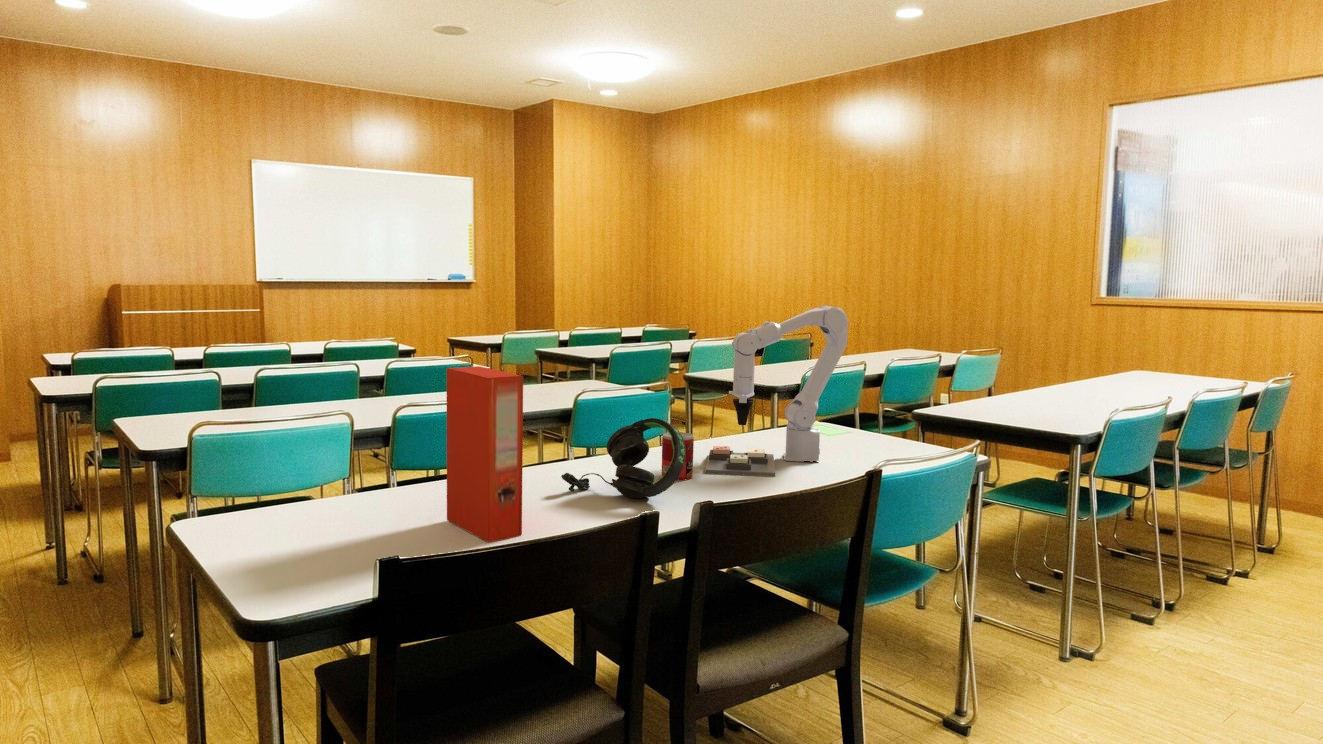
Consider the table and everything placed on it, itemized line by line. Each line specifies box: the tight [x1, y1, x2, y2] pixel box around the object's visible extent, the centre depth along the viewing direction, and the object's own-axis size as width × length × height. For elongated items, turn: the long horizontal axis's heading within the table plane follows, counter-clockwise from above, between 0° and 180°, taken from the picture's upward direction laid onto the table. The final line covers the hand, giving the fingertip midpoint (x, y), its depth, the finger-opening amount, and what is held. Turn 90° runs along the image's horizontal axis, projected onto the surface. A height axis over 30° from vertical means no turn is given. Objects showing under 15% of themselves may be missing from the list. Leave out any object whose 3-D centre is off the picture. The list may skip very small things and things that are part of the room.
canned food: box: [661, 431, 695, 481], centre depth 217 cm, size 8×8×11 cm
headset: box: [560, 417, 686, 500], centre depth 198 cm, size 18×14×29 cm
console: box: [705, 449, 776, 478], centre depth 232 cm, size 18×22×2 cm
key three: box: [712, 445, 731, 454], centre depth 236 cm, size 5×5×1 cm
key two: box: [730, 455, 748, 464], centre depth 226 cm, size 5×5×1 cm
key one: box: [746, 448, 766, 457], centre depth 233 cm, size 5×5×1 cm
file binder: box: [446, 365, 524, 543], centre depth 171 cm, size 8×17×32 cm, turn 39°
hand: (742, 424), depth 238 cm, fingers closed
